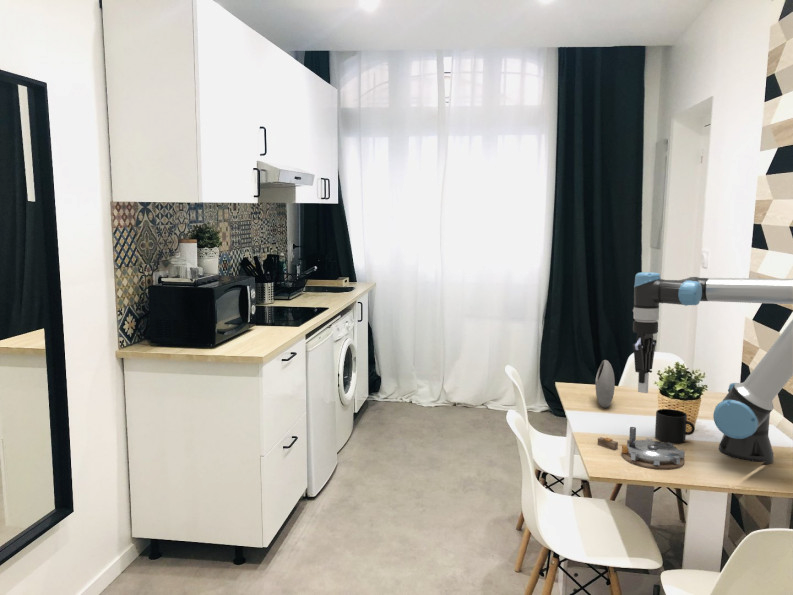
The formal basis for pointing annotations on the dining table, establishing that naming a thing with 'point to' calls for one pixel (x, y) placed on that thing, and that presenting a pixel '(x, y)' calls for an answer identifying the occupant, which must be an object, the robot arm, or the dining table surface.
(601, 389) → the grey flattened round ornament
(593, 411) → the dining table surface
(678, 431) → the mug
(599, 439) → the rail
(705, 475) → the dining table surface
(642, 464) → the sprocket base
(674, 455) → the sprocket
